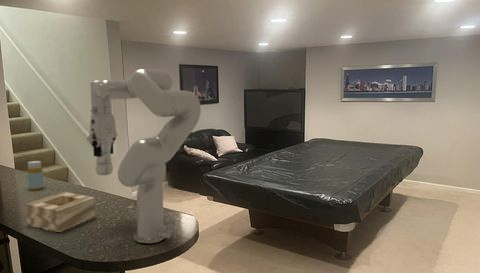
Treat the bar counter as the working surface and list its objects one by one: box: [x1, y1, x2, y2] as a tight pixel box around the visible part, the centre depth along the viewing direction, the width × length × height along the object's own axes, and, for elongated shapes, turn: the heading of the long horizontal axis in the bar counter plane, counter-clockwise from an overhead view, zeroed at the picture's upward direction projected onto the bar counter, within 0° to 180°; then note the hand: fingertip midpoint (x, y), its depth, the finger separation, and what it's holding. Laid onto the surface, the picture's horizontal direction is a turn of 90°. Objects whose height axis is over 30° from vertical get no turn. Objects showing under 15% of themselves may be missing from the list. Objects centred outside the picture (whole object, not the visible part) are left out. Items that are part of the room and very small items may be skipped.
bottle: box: [27, 160, 44, 191], centre depth 185 cm, size 7×7×15 cm
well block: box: [25, 191, 96, 233], centre depth 142 cm, size 18×18×9 cm
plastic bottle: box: [95, 137, 114, 176], centre depth 140 cm, size 6×7×20 cm
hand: (103, 154), depth 140 cm, fingers closed on plastic bottle, 6 cm apart
